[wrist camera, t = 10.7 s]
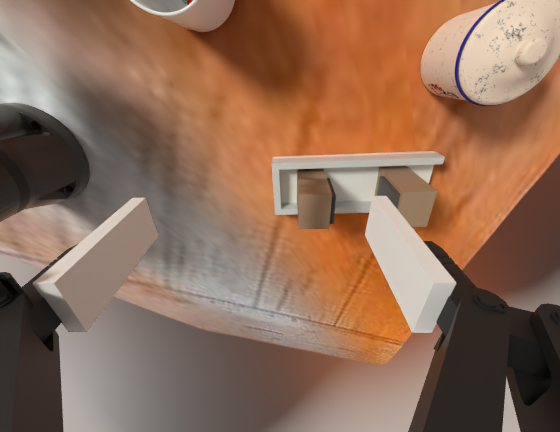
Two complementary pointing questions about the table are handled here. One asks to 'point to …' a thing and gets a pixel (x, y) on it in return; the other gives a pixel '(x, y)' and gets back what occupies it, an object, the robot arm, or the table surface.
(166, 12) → the mug
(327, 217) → the block
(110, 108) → the table surface
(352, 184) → the rail
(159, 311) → the table surface
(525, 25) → the teacup with lid
